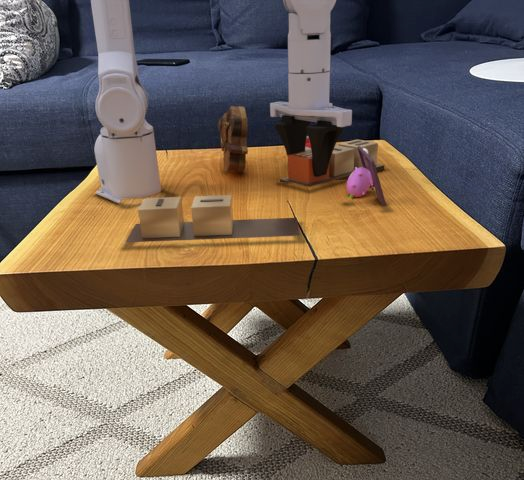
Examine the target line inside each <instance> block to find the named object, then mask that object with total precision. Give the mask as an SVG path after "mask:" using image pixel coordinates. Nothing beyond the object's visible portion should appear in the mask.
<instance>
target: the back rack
mask: <svg viewBox="0 0 524 480" xmlns="http://www.w3.org/2000/svg"><path fill="white" fill-rule="evenodd" d="M358 146H360V147H361V148H365V149H367V150H368V155H369V156H370V157H371V158H372V159H373V160H374V163H375V167H376V170H377V173H379V172H382V171H385V164H381V163H378V162H377V161H378V150H379V149H378V148H379V142H375V141H369V140H363V139H353V140H349V141H345V142H340V143H338V145H337V144H335V147H334V149H333V152H332V155H331V158H330V165H329V178H326V179H322V180H318V181H315V182H311V183H305V182H301V181H297V180H293V179H289V178H288V176H287V177H286V176H285V177H283V178H279V183H293V184H295V185H301V186H304V187H307V188H311V187H313V186H318V185H320V184H324V183H328V182H331V181H346V180H348V178H349V176H350V175H351V174H352V172H353V171H354V170H355V167H357V168H359V167H362V166H363V165H362V162H361V159H360V155H359V152H358V148H357V147H358ZM365 160H366V159H365ZM365 160H364V161H365ZM366 162H367V160H366ZM366 162H365V165H366ZM367 165H368V163H367ZM367 165H366V168H367V169H368V167H369V166H368V167H367Z"/></svg>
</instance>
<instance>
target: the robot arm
mask: <svg viewBox="0 0 524 480" xmlns="http://www.w3.org/2000/svg"><path fill="white" fill-rule="evenodd" d="M282 2H283V5H284V8H285V10H286V11H287V12H289V13H288V34H287V64H288V65H287V66H288V67H287V70H288V71H287V72H288V74H287V76H288V79H287V81H288V83H287V85H288V86H287V87H288V101H275V102H270V103H269V113H270V117H271V118H281V119H280V121H277V122H275V123H274V129H275V130H276V132H277V134H278V136H279V137H280V139H281V141H282V144H283V147H284V149H285V153H286V156H287V158H288V155H291V154H295V153H299V152H303V151H305V144H306V138H307V136H308V137H309V140H310V145H311V150H312V166H313V173H314V176H316V177H319V176H322V175H326V174H327V170H328V166H329V162H330V158H331V155H332V152H333V149H334V147H335V145H337V143H338V140H339V138H340V136H341V135H342V133H343V132H344V129H345V127H349V126H352V123H353V122H352V120H353V110H352V109H347V108H343V107H339V106H335V105H333V103H332V102H330V88H331V87H330V86H331V85H330V83H331V82H330V81H331V43H332V41H331V40H332V39H331V38H332V32H331V12H332V10H333V8H334V7H335V5H336V2H337V0H282ZM90 6H91V13H92V19H93V26H94V34H95V40H96V48H97V55H98V58H97V59H98V60H97V67H98V68H97V74H98V82H99V85H98V86H99V88H98V93H97V96H96V98H95V102H94V103H95V107H94V109H95V114H96V117H97V119H98V122H100V124H101V125H102V126H103V127H101V128H100V130H99V131H100V134H99V135H98V137H96V140H95V143H94V147H93V149H94V158H95V162H96V167H97V168H96V169H97V173H98V178H99V184H100V189H99V190H96V191H95V194H96V195H97V196H100V197H102V198H105V199H106V200H109V201H111V202H114V203H116V204H120V203H121V201H122V200H123V199H125V200H126V199H128V200H131V199H143V198H149V197H151V196H154V195H157V194H159V193H160V192H161V191H162V187H161V186H162V185H161V178H160V170H159V169H160V168H159V163H158V162H159V161H158V155H157V154H158V153H157V148H156V146H157V145H156V140H155V132H154V126H153V125H151V124H150V123H148V121H147V120H146V118H145V117H146V114H147V111H148V108H149V97H148V93H147V91H146V90H145V88H144V86H143V84H142V83H141V79H140V76H139V75H140V74H139V67H138V61H137V57H136V52H135V51H136V50H135V44H134V33H133V25H132V16H131V7H130V0H90ZM311 122H313V123H316V124H312V125H311Z"/></svg>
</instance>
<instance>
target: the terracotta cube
mask: <svg viewBox="0 0 524 480" xmlns="http://www.w3.org/2000/svg"><path fill="white" fill-rule="evenodd" d="M329 165H330V162H329ZM287 177H288V178H289V179H293V180H297V181H301V182H305V183H311V182H315V181H318V180H322V179H326V178H329V166H328V170H327V174H326V175H322V176H319V177H316V176H314V173H313V166H312V151H310V150H308V151H303V152H299V153H295V154H291V155H288V157H287Z"/></svg>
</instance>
